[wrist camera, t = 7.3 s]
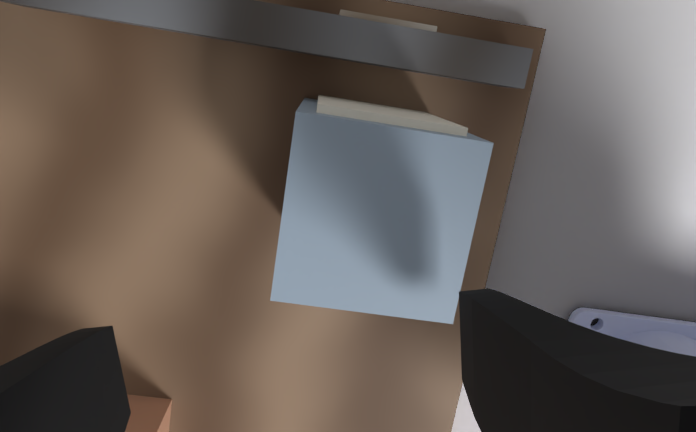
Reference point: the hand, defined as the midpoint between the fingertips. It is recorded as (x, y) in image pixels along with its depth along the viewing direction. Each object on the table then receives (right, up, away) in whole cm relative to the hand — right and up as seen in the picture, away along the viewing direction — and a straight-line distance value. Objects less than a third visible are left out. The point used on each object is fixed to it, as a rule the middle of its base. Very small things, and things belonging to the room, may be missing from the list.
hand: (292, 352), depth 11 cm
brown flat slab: (-3, 0, +10) cm, 11 cm away
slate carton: (+1, +4, +8) cm, 9 cm away
